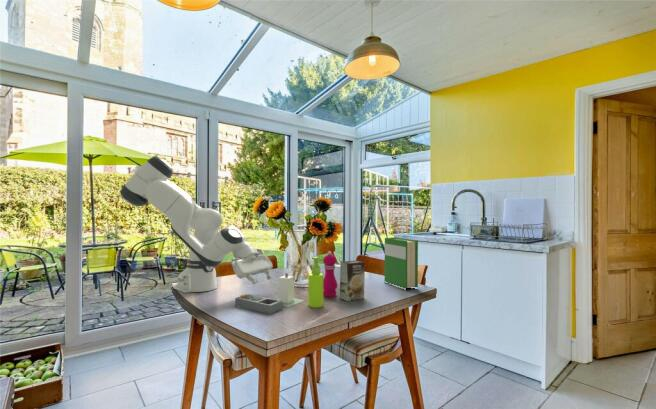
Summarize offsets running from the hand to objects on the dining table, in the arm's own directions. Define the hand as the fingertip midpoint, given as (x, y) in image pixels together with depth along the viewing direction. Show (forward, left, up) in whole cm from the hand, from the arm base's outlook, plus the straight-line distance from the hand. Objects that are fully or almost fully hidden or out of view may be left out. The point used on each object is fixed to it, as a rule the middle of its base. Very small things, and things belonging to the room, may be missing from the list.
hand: (263, 281), depth 138 cm
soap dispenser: (+25, +3, -8) cm, 27 cm away
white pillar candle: (+12, 0, -7) cm, 14 cm away
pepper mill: (+20, +21, -8) cm, 31 cm away
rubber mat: (+12, 0, -8) cm, 15 cm away
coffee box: (+31, +22, -8) cm, 39 cm away
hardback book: (+42, +56, -8) cm, 70 cm away
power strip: (+8, -12, -8) cm, 16 cm away
